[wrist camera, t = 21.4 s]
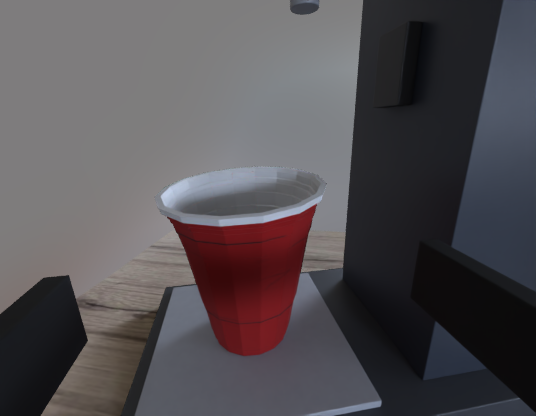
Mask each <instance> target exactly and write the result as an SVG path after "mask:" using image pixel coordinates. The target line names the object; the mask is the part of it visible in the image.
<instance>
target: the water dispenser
mask: <svg viewBox="0 0 536 416" xmlns="http://www.w3.org/2000/svg"><path fill="white" fill-rule="evenodd" d="M318 8H319V0H290V10H291V12H293V13H295V14H300V15H303V14H310V13H313V12H315V11H317V10H318ZM430 239H438V240H439V241H441V242H443V243H445V244H447V245H449V246H451V247H453V248H454V249H456V250H458V251H460V252H462V253H464V254H466V255H468V256H469V257H471V258H473V259H475V260H477V261H479V262H481V263H483V264H485V265H486V266H488V267H490V268H492V269H494V270H496V271H498V272H500V273H501V274H503V275H505V276H507V277H509V278H511V279H513V280H515V281H517V282H518V283H520V284H522V285H524V286H526V287H528V288H530V289H532V290H533V291H535V292H536V0H363V11H362V24H361V38H360V51H359V64H358V77H357V92H356V104H355V119H354V131H353V144H352V157H351V170H350V184H349V197H348V210H347V223H346V236H345V250H344V263H343V268H339V269H329V270H320V271H311V272H302V273H300V277H299V282H298V287H297V292H296V295H295V298H294V301H293V306H292V311H291V316H290V321H289V325H288V328H287V330H286V333H285V335H284V338H283V340H282V341H281V342H280V343H279V344H278V345H277V346H276V347H275V348H274V349H272V350H269V351H267V352H265V353H263V354H260V355H250V356H242V355H238V354H234V353H231V352H229V351H227V350H226V349H225V348H224V347H222V346H221V345H220V344H219V342H218V340H217V339H216V337H215V334H214V332H213V330H212V327H211V324H210V320H209V317H208V314H207V311H206V309H205V306H204V304H203V302H202V299H201V296H200V293H199V290H198V287H197V284H192V285H183V286H174V287H166V289H165V292H164V295H163V297H162V300H161V303H160V306H159V309H158V312H157V314H156V317H155V320H154V323H153V326H152V329H151V331H150V334H149V337H148V340H147V343H146V346H145V349H144V351H143V354H142V357H141V360H140V363H139V366H138V368H137V371H136V374H135V377H134V380H133V383H132V385H131V388H130V391H129V394H128V397H127V400H126V402H125V405H124V408H123V411H122V414H121V416H536V413H535V412H534V411H533V410H532V409H531V408H530V407H529V406H528V405H526V404H525V403H524V402H523V401H522V400H521V399H520V398H519V397H518V396H517V395H516V394H515V393H513V392H512V391H511V390H510V389H509V388H508V387H507V386H506V385H505V384H504V383H503V382H501V381H500V380H499V379H498V378H497V377H496V376H495V375H494V374H493V373H492V372H491V371H490V370H488V369H487V368H486V367H485V366H484V365H483V364H482V363H481V362H480V361H479V360H478V359H476V358H475V357H474V356H473V355H472V354H471V353H470V352H469V351H468V350H467V349H466V348H465V347H463V346H462V345H461V344H460V343H459V342H458V341H457V340H456V339H455V338H454V337H453V336H451V335H450V334H449V333H448V332H447V331H446V330H445V329H444V328H443V327H442V326H441V325H440V324H438V323H437V322H436V321H435V320H434V319H433V318H432V317H431V316H430V315H429V314H428V313H426V312H425V311H424V310H423V309H422V308H421V307H420V306H419V305H418V304H417V303H416V302H415V301H413V300H412V299H411V298H410V295H411V289H412V283H413V277H414V271H415V265H416V259H417V253H418V247H419V241H420V240H430Z"/></svg>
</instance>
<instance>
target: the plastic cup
mask: <svg viewBox="0 0 536 416" xmlns="http://www.w3.org/2000/svg"><path fill="white" fill-rule="evenodd" d="M326 184H327V183H326V182H325V181H324V180H322V178H320V177H319V176H318V175H316V174H313V173H310V172H307V171H303V170H299V169H291V168H283V167H246V168H232V169H225V170H219V171H213V172H207V173H203V174H199V175H196V176H192V177H188V178H185V179H182V180H179V181H177V182H175V183H173V184H171V185H168V186H166V187H164V188H163V189H162V190H161V191H160V192H159V193H158V194H157V195H156V196H155V200H156V203H157V206H158V209H159V210H160V212H161V214H163V215H165V216H167V218H168V219H170V222H171V223H172V224H173V226H174V228H175V230H176V233H178V235H179V238H180V240H181V242H182V245H183V247H184V249H185V252H186V255H187V258H188V261H189V264H190V266H191V269H192V272H193V275H194V278H195V281H196V284H197V287H198V290H199V293H200V296H201V299H202V302H203V304H204V306H205V309H206V311H207V314H208V317H209V320H210V324H211V327H212V330H213V332H214V334H215V337H216V339H217V340H218V342H219V344H220V345H221V346H222V347H224V348H225V349H226V350H227V351H229V352H231V353H234V354H238V355H242V356H250V355H260V354H263V353H265V352H267V351H269V350H272V349H274V348H275V347H276V346H277V345H278V344H279V343H280V342H281V341H282V340H283V338H284V335H285V333H286V330H287V328H288V325H289V321H290V316H291V311H292V306H293V301H294V298H295V295H296V292H297V287H298V282H299V277H300V272H301V267H302V262H303V257H304V252H305V247H306V243H307V238H308V233H309V230H310V228H311V224H312V218H313V216H314V213H315V209H316V206H317V203H318V202H320V201H321V199H322V196H323V193H324V191H325V188H326Z"/></svg>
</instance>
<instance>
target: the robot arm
mask: <svg viewBox="0 0 536 416" xmlns="http://www.w3.org/2000/svg"><path fill="white" fill-rule="evenodd" d="M410 298H411V299H412V300H413V301H415V302H416V303H417V304H418V305H419V306H420V307H421V308H422V309H423V310H424V311H425V312H426V313H428V314H429V315H430V316H431V317H432V318H433V319H434V320H435V321H436V322H437V323H438V324H440V325H441V326H442V327H443V328H444V329H445V330H446V331H447V332H448V333H449V334H450V335H451V336H453V337H454V338H455V339H456V340H457V341H458V342H459V343H460V344H461V345H462V346H463V347H465V348H466V349H467V350H468V351H469V352H470V353H471V354H472V355H473V356H474V357H475V358H476V359H478V360H479V361H480V362H481V363H482V364H483V365H484V366H485V367H486V368H487V369H488V370H490V371H491V372H492V373H493V374H494V375H495V376H496V377H497V378H498V379H499V380H500V381H501V382H503V383H504V384H505V385H506V386H507V387H508V388H509V389H510V390H511V391H512V392H513V393H515V394H516V395H517V396H518V397H519V398H520V399H521V400H522V401H523V402H524V403H525V404H526V405H528V406H529V407H530V408H531V409H532V410H533V411H534V412H535V413H536V292H535V291H533V290H532V289H530V288H528V287H526V286H524V285H522V284H520V283H518V282H517V281H515V280H513V279H511V278H509V277H507V276H505V275H503V274H501V273H500V272H498V271H496V270H494V269H492V268H490V267H488V266H486V265H485V264H483V263H481V262H479V261H477V260H475V259H473V258H471V257H469V256H468V255H466V254H464V253H462V252H460V251H458V250H456V249H454V248H453V247H451V246H449V245H447V244H445V243H443V242H441V241H439V240H438V239H430V240H420V241H419V247H418V253H417V259H416V265H415V271H414V277H413V283H412V289H411V295H410ZM87 341H88V339H87V336H86V332H85V329H84V325H83V322H82V319H81V315H80V312H79V308H78V305H77V302H76V298H75V295H74V291H73V288H72V285H71V281H70V278H69V275H67V276H57V277H47V278H43V279H42V280H40V281H39V282H38V283H37V284H36V285H34V286H33V287H32V288H31V289H30V290H29V291H27V292H26V293H25V294H24V295H23V296H21V297H20V298H19V299H18V300H17V301H16V302H14V303H13V304H12V305H11V306H10V307H8V308H7V309H6V310H5V311H4V312H2V313H1V314H0V416H40V415H41V414H42V412H43V411H44V409H45V407H46V406H47V404H48V403H49V401H50V400H51V398H52V396H53V395H54V393H55V392H56V390H57V389H58V387H59V385H60V384H61V382H62V381H63V379H64V377H65V376H66V374H67V373H68V371H69V370H70V368H71V366H72V365H73V363H74V362H75V360H76V358H77V357H78V355H79V354H80V352H81V351H82V349H83V347H84V346H85V344H86V343H87Z"/></svg>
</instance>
